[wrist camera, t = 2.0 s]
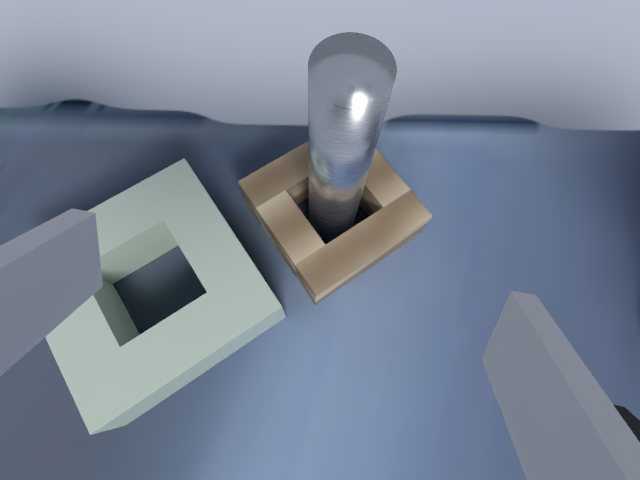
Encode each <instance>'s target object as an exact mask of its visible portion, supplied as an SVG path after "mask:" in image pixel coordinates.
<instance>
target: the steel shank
mask: <svg viewBox="0 0 640 480" xmlns="http://www.w3.org/2000/svg"><path fill="white" fill-rule="evenodd" d="M396 72H397V67H396V62H395V59H394V56H393V55H392V53H391V51H390V50H389V49H388V48H387V47H386V46H385V45H384V44H383V43H382V42H380V41H379V40H377V39H375V38H373V37H371V36H368V35H365V34H361V33H351V32H347V33H340V34H336V35H333V36H330V37H328V38H326V39H324V40H323V41H321V42H320V43H319V44H318V45H317V46H316V47H315V48H314V50H313V51H312V53H311V55H310V58H309V63H308V92H309V93H308V101H309V102H308V106H309V109H308V112H309V113H308V115H309V116H308V118H309V223H310V224H311V226H312V227H313V228H314V230H315V231H316V232H317V234H318V235H319V236H320V237H322V238H325V239H335V238H337V237H338V236H340V235H341V234H343V233H345V232H346V231H348V230H349V229H351V228H352V227H353V224H354V221H355V217H356V214H357V210H358V207H359V203H360V200H361V196H362V193H363V189H364V186H365V183H366V179H367V176H368V172H369V169H370V165H371V162H372V158H373V155H374V151H375V148H376V144H377V141H378V137H379V134H380V130H381V127H382V123H383V120H384V116H385V112H386V109H387V106H388V102H389V99H390V95H391V92H392V88H393V84H394V81H395V78H396Z"/></svg>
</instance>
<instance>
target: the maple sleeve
mask: <svg viewBox="0 0 640 480" xmlns="http://www.w3.org/2000/svg"><path fill="white" fill-rule="evenodd" d="M238 184H239V187H240V189H241V192H242V195H243V197H244V200H245V203H246V204H247V206H248V207H249V208H250V210H251V211H252V213H253V214H254V216H255V217H256V219H257V220H258V222H259V223H260V225H261V226H262V228H263V229H264V230H265V232H266V233H267V235H268V236H269V238H270V239H271V241H272V242H273V244H274V245H275V247H276V248H277V249H278V251H279V252H280V254H281V255H282V257H283V258H284V260H285V261H286V263H287V264H288V266H289V267H290V268H291V270H292V271H293V273H294V274H295V276H296V277H297V279H298V280H299V282H300V283H301V285H302V286H303V288H304V289H305V290H306V292H307V293H308V295H309V296H310V298H311V299H312V301H313V302H314V304H315V305H316V304H317V303H318V302H320V301H321V300H323V299H324V298H326V297H327V296H329V295H330V294H332V293H333V292H335V291H336V290H338V289H339V288H341V287H342V286H343V285H345V284H346V283H348V282H349V281H351V280H352V279H354V278H355V277H357V276H358V275H360V274H361V273H363V272H364V271H365V270H367V269H368V268H370V267H371V266H373V265H374V264H376V263H377V262H379V261H380V260H382V259H383V258H385V257H386V256H387V255H389V254H390V253H392V252H393V251H395V250H396V249H398V248H399V247H401V246H402V245H404V244H405V243H407V242H408V241H410V240H411V239H412V238H414V237H415V236H417V235H418V234H420V232H421V231H422V230H423V228H424V227H425V226H426V224H427V223H428V222H429V220H430V219H431V218H432V217H433V216H432V215H431V214H430V212H429V211H428V210H427V209H426V208H425V206H424V205H423V204H422V203H421V202H420V200H419V199H418V198H417V197H416V196H415V194H414V193H413V192H412V191H411V190H410V188H409V187H408V186H407V185H406V184H405V182H404V181H403V180H402V179H401V178H400V176H399V175H398V174H397V173H396V172H395V170H394V169H393V168H392V167H391V166H390V164H389V163H388V162H387V161H386V160H385V158H384V157H383V156H382V155H381V154H380V152H379V151H378V150H377V149H376V148H375V151H374V155H373V158H372V162H371V165H370V169H369V172H368V176H367V179H366V183H365V186H364V189H363V193H362V196H361V200H360V203H359V206H360V207H361V208H362V209H363V211H364V212H365V213H366V215H367V216H368V218H366V219H365V220H363V221H362V222H360V223H358V224H357V225H355V226H354V227H352V228H351V229H349V230H348V231H346V232H345V233H343V234H341V235H340V236H338V237H337V238H335V239H334V240H332V241H331V242H329V243H328V244H326V245H325V243H324V242H323V241H322V239H321V238H320V237H319V235H318V234H317V232H316V231H315V230H314V228H313V227H312V226H311V224H310V223H309V221H308V220H307V219H306V217H305V216H304V215H303V213H302V212H301V210H300V209H299V208H298V206H297V205H298V204H299V203H301V202H303V201H304V200H306V199H308V198H309V141H307V142H305V143H304V144H302V145H300V146H298V147H297V148H295V149H293V150H291V151H290V152H288V153H286V154H284V155H283V156H281V157H279V158H277V159H276V160H274V161H272V162H271V163H269V164H267V165H265V166H264V167H262V168H260V169H258V170H257V171H255V172H253V173H251V174H250V175H248V176H246V177H245V178H243V179H241V180H239V181H238Z"/></svg>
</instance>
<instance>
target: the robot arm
mask: <svg viewBox="0 0 640 480" xmlns="http://www.w3.org/2000/svg"><path fill="white" fill-rule="evenodd" d="M102 286H103V282H102V272H101V262H100V252H99V243H98V233H97V223H96V213H94V212H89V211H83V210H78V209H73V208H72V209H70V210H68V211H66V212H64V213H62V214H60V215H58V216H56V217H55V218H53V219H51V220H49V221H47V222H45V223H43V224H41V225H39V226H37V227H35V228H34V229H32V230H30V231H28V232H26V233H24V234H22V235H20V236H18V237H16V238H14V239H13V240H11V241H9V242H7V243H5V244H3V245H1V246H0V376H1V375H3V374H4V373H5V372H6V371H7V370H8V369H9V368H11V367H12V366H13V365H14V364H15V363H16V362H17V361H18V360H20V359H21V358H22V357H23V356H24V355H25V354H26V353H28V352H29V351H30V350H31V349H32V348H33V347H34V346H35V345H37V344H38V343H39V342H40V341H41V340H42V339H43V338H45V337H46V336H47V335H48V334H49V333H50V332H51V331H53V330H54V329H55V328H56V327H57V326H58V325H59V324H60V323H62V322H63V321H64V320H65V319H66V318H67V317H68V316H70V315H71V314H72V313H73V312H74V311H75V310H76V309H77V308H79V307H80V306H81V305H82V304H83V303H84V302H85V301H87V300H88V299H89V298H90V297H91V296H92V295H93V294H95V293H96V292H97V291H98V290H99V289H100V288H101V287H102ZM481 360H482V362H483V365H484V368H485V370H486V373H487V376H488V378H489V381H490V384H491V386H492V389H493V392H494V394H495V397H496V399H497V402H498V405H499V407H500V410H501V413H502V415H503V418H504V421H505V423H506V426H507V429H508V431H509V434H510V437H511V439H512V442H513V444H514V447H515V450H516V452H517V455H518V458H519V460H520V463H521V466H522V468H523V471H524V474H525V476H526V479H527V480H640V421H639V420H638V419H637V418H636V417H635V416H634V415H633V414H632V413H630V412H629V411H628V410H627V409H626V408H625V407H621V406H616V405H613V404H612V402H611V401H610V399H609V398H608V397H607V395H606V394H605V392H604V391H603V390H602V388H601V387H600V385H599V384H598V382H597V381H596V380H595V378H594V377H593V375H592V374H591V373H590V371H589V370H588V368H587V367H586V365H585V364H584V363H583V361H582V360H581V358H580V357H579V356H578V354H577V353H576V351H575V350H574V348H573V347H572V346H571V344H570V343H569V341H568V340H567V339H566V337H565V336H564V334H563V333H562V331H561V330H560V329H559V327H558V326H557V324H556V323H555V321H554V320H553V319H552V317H551V316H550V314H549V313H548V312H547V310H546V309H545V307H544V306H543V304H542V303H541V302H540V300H539V299H538V297H537V296H536V295H532V294H527V293H521V292H516V291H511V292H510V294H509V296H508V298H507V301H506V303H505V305H504V308H503V310H502V312H501V315H500V317H499V319H498V321H497V324H496V326H495V328H494V331H493V333H492V335H491V338H490V340H489V342H488V344H487V347H486V349H485V351H484V354H483V356H482V358H481Z"/></svg>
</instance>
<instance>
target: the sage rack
mask: <svg viewBox="0 0 640 480" xmlns="http://www.w3.org/2000/svg"><path fill="white" fill-rule="evenodd" d="M88 211H89V212H94V213H96V223H97V233H98V243H99V252H100V262H101V272H102V282H103V286H102V287H101V288H100V289H99V290H98V291H97V292H96V293H95V294H93V295H92V296H91V297H90V298H89V299H88V300H87V301H85V302H84V303H83V304H82V305H81V306H80V307H79V308H77V309H76V310H75V311H74V312H73V313H72V314H71V315H70V316H68V317H67V318H66V319H65V320H64V321H63V322H62V323H60V324H59V325H58V326H57V327H56V328H55V329H54V330H53V331H51V332H50V333H49V334H48V335H47V336H46V337H45V338H46V340H47V342H48V344H49V346H50V348H51V351H52V353H53V355H54V357H55V359H56V362H57V364H58V366H59V368H60V370H61V372H62V375H63V377H64V379H65V381H66V383H67V386H68V388H69V390H70V392H71V394H72V396H73V399H74V401H75V403H76V405H77V407H78V409H79V412H80V414H81V416H82V418H83V420H84V423H85V425H86V427H87V429H88V431H89V433H90V435H91V434H95V433H99V432H103V431H107V430H110V429H114V428H118V427H122V426H126V425H127V424H129V423H130V422H132V421H133V420H135V419H136V418H138V417H139V416H141V415H142V414H144V413H145V412H146V411H148V410H149V409H151V408H152V407H154V406H155V405H157V404H158V403H160V402H161V401H163V400H164V399H166V398H167V397H169V396H170V395H172V394H173V393H175V392H176V391H178V390H179V389H180V388H182V387H183V386H185V385H186V384H188V383H189V382H191V381H192V380H194V379H195V378H197V377H198V376H200V375H201V374H203V373H204V372H206V371H207V370H209V369H210V368H212V367H213V366H214V365H216V364H217V363H219V362H220V361H222V360H223V359H225V358H226V357H228V356H229V355H231V354H232V353H234V352H235V351H237V350H238V349H240V348H241V347H243V346H244V345H246V344H247V343H248V342H250V341H251V340H253V339H254V338H256V337H257V336H259V335H260V334H262V333H263V332H265V331H266V330H268V329H269V328H271V327H272V326H274V325H275V324H277V323H278V322H280V321H281V320H282V319H284V318H285V317H286V315H285V313H284V310H283V308H282V306H281V304H280V303H279V301H278V300H277V298H276V297H275V295H274V294H273V292H272V291H271V289H270V288H269V286H268V284H267V283H266V281H265V280H264V278H263V277H262V275H261V274H260V272H259V271H258V269H257V268H256V266H255V265H254V263H253V262H252V260H251V259H250V257H249V256H248V254H247V252H246V251H245V249H244V248H243V246H242V245H241V243H240V242H239V240H238V239H237V237H236V236H235V234H234V233H233V231H232V230H231V228H230V227H229V225H228V224H227V222H226V220H225V219H224V217H223V216H222V214H221V213H220V211H219V210H218V208H217V207H216V205H215V204H214V202H213V201H212V199H211V198H210V196H209V195H208V193H207V192H206V190H205V188H204V187H203V185H202V184H201V182H200V181H199V179H198V178H197V176H196V175H195V173H194V172H193V170H192V169H191V167H190V166H189V164H188V163H187V161H186V160H185V158H184V159H182V160H180V161H178V162H176V163H174V164H173V165H171V166H169V167H167V168H165V169H163V170H162V171H160V172H158V173H156V174H154V175H152V176H151V177H149V178H147V179H145V180H143V181H141V182H140V183H138V184H136V185H134V186H132V187H130V188H129V189H127V190H125V191H123V192H121V193H119V194H118V195H116V196H114V197H112V198H110V199H108V200H107V201H105V202H103V203H101V204H99V205H97V206H96V207H94V208H92V209H90V210H88ZM178 245H179V247H180V249H181V250H182V252H183V253H184V255H185V257H186V258H187V260H188V262H189V263H190V265H191V267H192V268H193V270H194V272H195V273H196V275H197V277H198V278H199V280H200V282H201V283H202V285H203V287H204V288H205V290H206V292H207V293H205V294H204V295H202V296H200V297H199V298H197V299H196V300H194V301H192V302H191V303H189V304H188V305H186V306H185V307H183V308H181V309H180V310H178V311H177V312H175V313H173V314H172V315H170V316H169V317H167V318H166V319H164V320H162V321H161V322H159V323H158V324H156V325H154V326H153V327H151V328H150V329H148V330H147V331H145V332H143V333H142V334H139V332H138V330H137V328H136V326H135V324H134V322H133V321H132V319H131V317H130V315H129V313H128V311H127V309H126V307H125V306H124V304H123V302H122V300H121V298H120V296H119V294H118V292H117V291H116V289H115V287H114V285H113V284H114V283H116V282H117V281H119V280H121V279H122V278H124V277H126V276H127V275H129V274H131V273H132V272H134V271H136V270H138V269H139V268H141V267H143V266H144V265H146V264H148V263H149V262H151V261H153V260H154V259H156V258H158V257H159V256H161V255H163V254H165V253H166V252H168V251H170V250H171V249H173V248H175V247H176V246H178Z"/></svg>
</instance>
